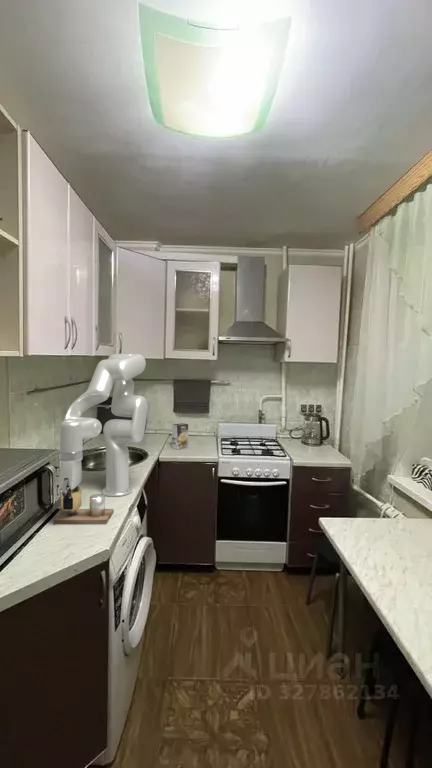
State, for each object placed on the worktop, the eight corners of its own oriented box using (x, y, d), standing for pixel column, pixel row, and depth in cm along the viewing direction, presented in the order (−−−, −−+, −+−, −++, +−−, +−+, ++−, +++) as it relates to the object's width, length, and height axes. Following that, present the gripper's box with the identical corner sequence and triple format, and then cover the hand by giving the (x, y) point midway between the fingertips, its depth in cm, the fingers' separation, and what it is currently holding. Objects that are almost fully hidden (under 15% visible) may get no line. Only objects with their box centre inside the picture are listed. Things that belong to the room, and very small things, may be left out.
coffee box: (177, 449, 243) (177, 425, 243) (171, 448, 248) (171, 424, 247) (188, 447, 250) (188, 424, 249) (182, 446, 254) (182, 423, 254)
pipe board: (64, 512, 137) (64, 508, 137) (113, 512, 137) (113, 508, 137) (53, 524, 127) (53, 520, 127) (106, 524, 127) (106, 520, 127)
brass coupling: (66, 504, 135) (66, 487, 134) (83, 504, 135) (83, 487, 135) (59, 510, 129) (59, 493, 128) (77, 510, 129) (77, 493, 129)
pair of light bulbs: (70, 511, 135) (70, 492, 134) (106, 511, 135) (106, 492, 135) (64, 517, 129) (64, 497, 129) (102, 517, 130) (102, 497, 129)
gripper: (69, 450, 140) (69, 497, 140) (50, 461, 122) (50, 515, 123) (89, 450, 140) (89, 497, 140) (73, 461, 123) (73, 515, 123)
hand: (71, 505), depth 132 cm, fingers closed on brass coupling, 6 cm apart
